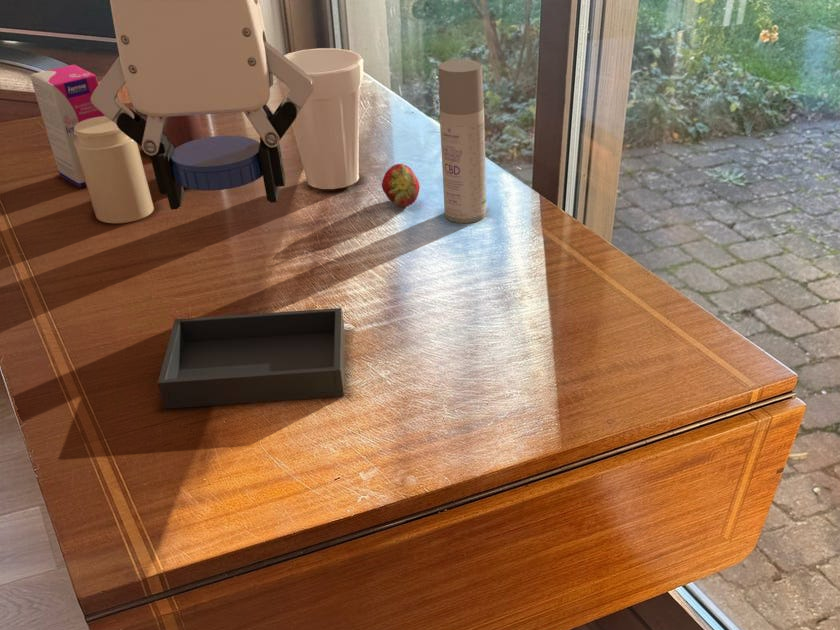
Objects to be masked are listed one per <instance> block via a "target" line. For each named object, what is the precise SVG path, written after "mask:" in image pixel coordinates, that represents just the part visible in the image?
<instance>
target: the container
mask: <svg viewBox="0 0 840 630" xmlns="http://www.w3.org/2000/svg"><path fill="white" fill-rule="evenodd" d="M483 81H484V80H483V63H481V62H480V61H478V60H474V59H467V58H456V59H449V60H445V61H442V62H441V63H440V64H439V65H438V99H439V101H438V102H439V104H438V105H439V129H440V149H441V150H440V151H441V163H442V164H441V167H442V184H443V185H442V186H443V187H442V188H443V204H444V205H443V206H444V217H445V219H447V220H448V221H450V222H453V223H457V224H471V223H475V222H476V223H477V222H479V221H481V220H483V219H484V218H485V217H487V184H486V183H487V181H486V180H487V179H486V177H487V176H486V175H487V174H486V136H485V135H486V133H485V129H486V128H485V127H486V126H485V103H484V102H485V101H484V82H483Z"/></svg>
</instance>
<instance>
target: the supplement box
mask: <svg viewBox="0 0 840 630" xmlns="http://www.w3.org/2000/svg"><path fill="white" fill-rule="evenodd" d="M29 78H30V81H31V84H32V88H33V91H34V94H35V98H36V101H37V104H38V108H39V111H40V114H41V117H42V120H43V124H44V127H45V131H46V135H47V139H48V141H49V145H50V148H51V151H52V155H53V157H54V158H53V159H54V161H55V164H56V169H57V171H58V173H59V176H60V177H61V178H63V179H65V180H67V181H68V182H70V183H71V184H72V185H74V186H76V187H78V188H84V187H87V186H86V183H85V180H84V176H83V173H82V170H81V166H80V163H79V160H78V156H77V153H76V150H75V147H74V140H75V139H76V138H77V137H76V135H75V134H74V126H75V125H76V124H77V123H79V122H81V121H83V120H86V119H90V118H94V117H101V116H105V115H104V114H103V113H102V112H100V111H99V110H98V109H97V108H96V107H95V106H94V105H93V104H92V102H91V95H92V94H93V92H94V90H95V89H96V88H97V86H98V85H99V81H98V78H97V75H96V74H94V73H92V72H90V71H88V70H86V69H83V68H82V67H80V66H78V65H76V64H69V65H66V66H60V67H56V68H52V69H47V70H43V71H39V72H34V73H30V74H29Z"/></svg>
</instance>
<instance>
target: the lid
mask: <svg viewBox="0 0 840 630" xmlns="http://www.w3.org/2000/svg"><path fill="white" fill-rule="evenodd" d="M259 145H260V141H258V140H257V139H254V138H251V137H249V136H248V137H247V136H241V135H215V136H207V137H204V138H201V139H197V140H193V141H190V142H187V143H184V144H182V145H180V146H178V147H177V148H175V149H174V150H173V151H172V153H171V156H170V158H171V162H172V169H173V173H174V177H175V181H176V182H177V183H178V184H179V185H181V186H183V188H186V189H188V190H189V189H190V190H194V191H195V190H196V191H207V192H208V191H223V190H230V189H235V188H240V187H242V186H246V185H248V184H251V183H253V182H256V181H257V180H259V179H260V178H261V177H263V174H262V168H261V163H260V158H259Z"/></svg>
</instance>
